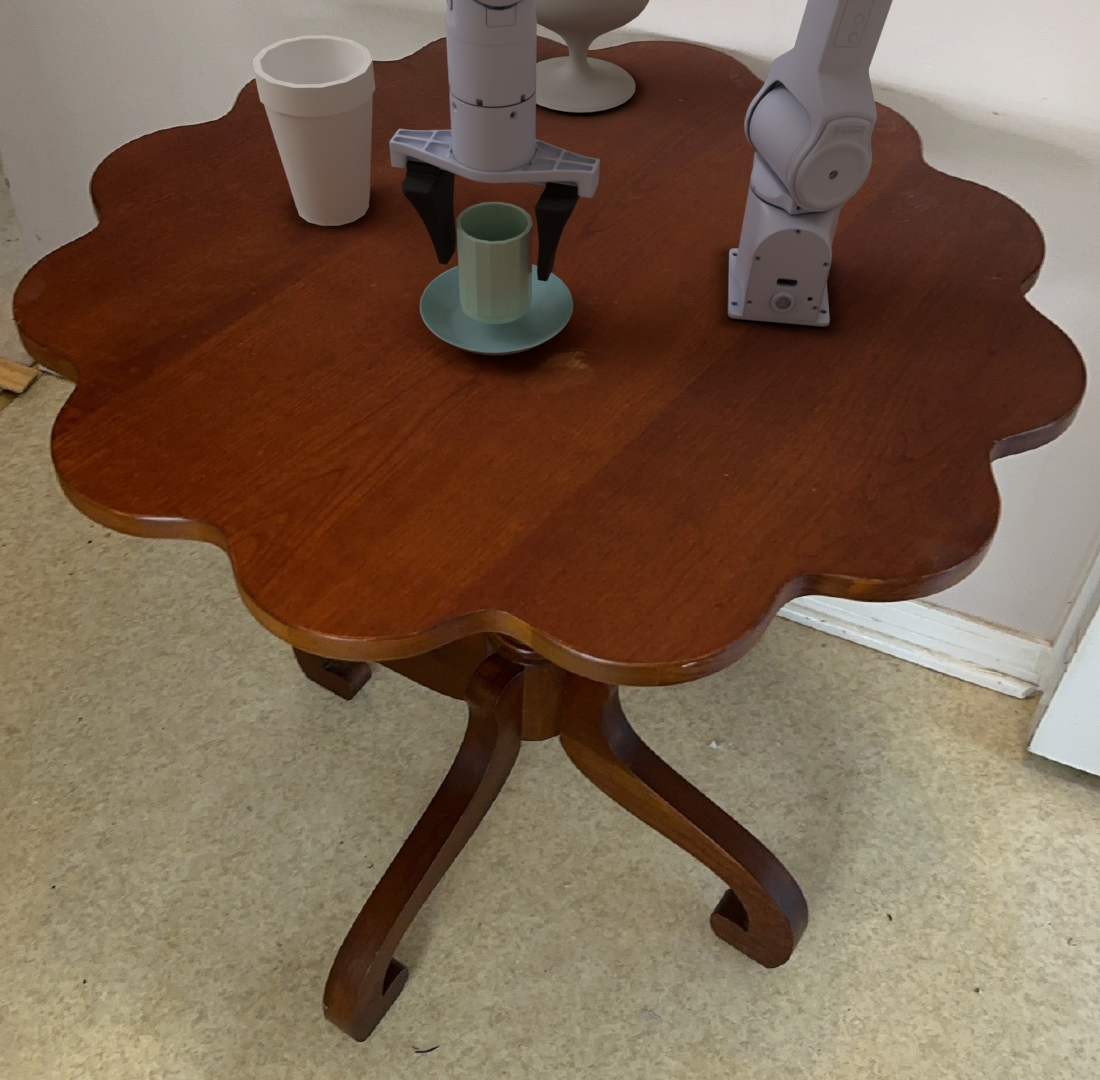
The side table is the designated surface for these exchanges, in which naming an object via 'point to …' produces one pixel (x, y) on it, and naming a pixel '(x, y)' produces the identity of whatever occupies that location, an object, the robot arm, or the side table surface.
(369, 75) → the foam cup
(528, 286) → the glass
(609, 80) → the chalice
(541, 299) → the saucer
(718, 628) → the side table surface
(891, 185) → the side table surface
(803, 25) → the robot arm
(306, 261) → the side table surface
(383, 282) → the side table surface
